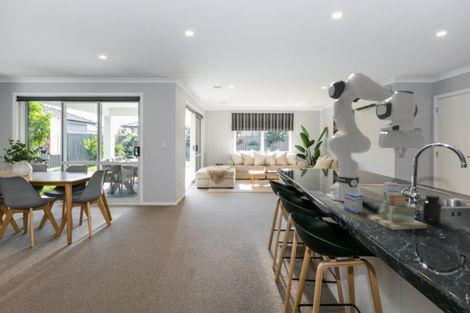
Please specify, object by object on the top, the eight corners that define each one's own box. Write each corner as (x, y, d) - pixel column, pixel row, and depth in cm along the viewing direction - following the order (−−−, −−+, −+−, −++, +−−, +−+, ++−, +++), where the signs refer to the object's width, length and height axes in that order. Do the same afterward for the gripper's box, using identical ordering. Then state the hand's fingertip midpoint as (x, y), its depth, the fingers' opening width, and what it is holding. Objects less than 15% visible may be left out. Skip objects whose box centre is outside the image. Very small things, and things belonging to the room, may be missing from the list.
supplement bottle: (424, 219, 125) (425, 193, 124) (442, 222, 120) (444, 195, 119) (420, 222, 120) (421, 195, 119) (439, 226, 115) (441, 198, 114)
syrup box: (398, 212, 136) (400, 183, 135) (386, 211, 138) (387, 183, 137) (394, 209, 142) (395, 182, 141) (382, 208, 143) (383, 181, 142)
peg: (387, 215, 121) (388, 193, 120) (396, 215, 121) (397, 193, 121) (395, 218, 116) (396, 195, 116) (404, 218, 117) (405, 195, 116)
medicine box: (343, 209, 141) (344, 193, 141) (349, 208, 143) (350, 192, 142) (355, 213, 134) (356, 196, 133) (362, 212, 136) (362, 195, 135)
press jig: (367, 218, 126) (368, 201, 125) (397, 216, 128) (398, 200, 128) (392, 229, 110) (393, 210, 109) (427, 227, 112) (428, 209, 112)
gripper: (417, 127, 126) (415, 157, 127) (377, 126, 123) (375, 157, 124) (428, 127, 119) (426, 158, 121) (386, 126, 116) (384, 158, 118)
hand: (400, 158), depth 122 cm, fingers closed
